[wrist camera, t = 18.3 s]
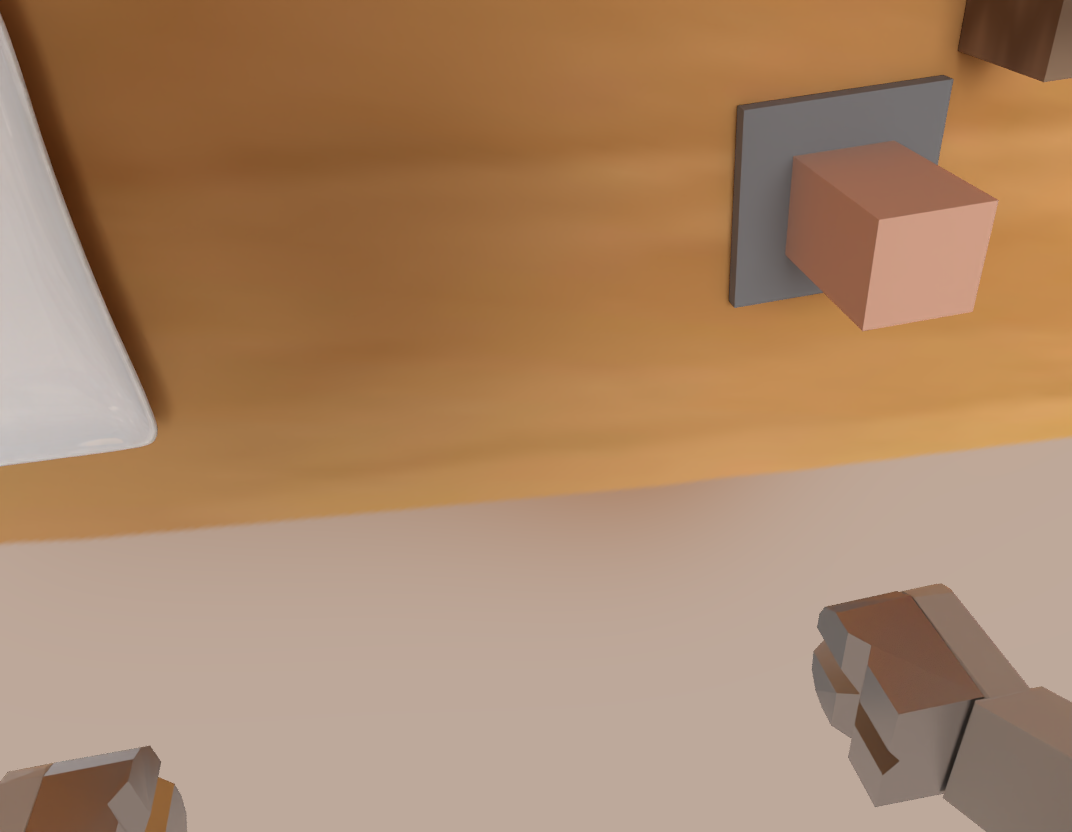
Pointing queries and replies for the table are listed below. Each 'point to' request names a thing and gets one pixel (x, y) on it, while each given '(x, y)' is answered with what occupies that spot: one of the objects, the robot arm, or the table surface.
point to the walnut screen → (1021, 36)
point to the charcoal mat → (804, 129)
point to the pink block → (888, 233)
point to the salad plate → (53, 310)
